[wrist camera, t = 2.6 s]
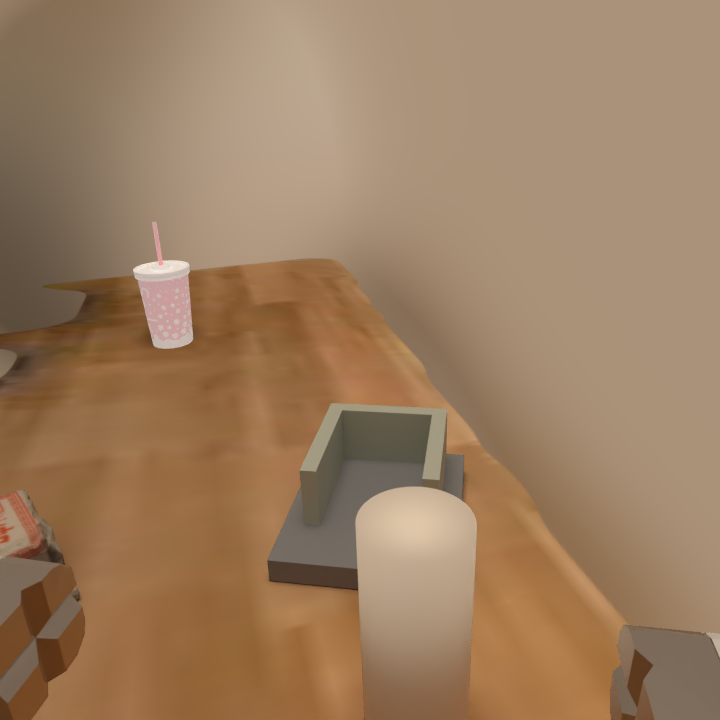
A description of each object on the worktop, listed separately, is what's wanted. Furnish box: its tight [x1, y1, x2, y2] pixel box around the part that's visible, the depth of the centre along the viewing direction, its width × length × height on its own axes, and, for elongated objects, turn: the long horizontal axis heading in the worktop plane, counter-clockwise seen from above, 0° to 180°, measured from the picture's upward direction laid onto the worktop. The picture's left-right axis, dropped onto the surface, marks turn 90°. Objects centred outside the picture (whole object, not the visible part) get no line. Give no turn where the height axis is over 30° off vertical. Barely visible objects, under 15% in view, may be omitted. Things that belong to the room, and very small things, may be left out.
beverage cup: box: [133, 222, 193, 349], centre depth 73 cm, size 6×6×14 cm
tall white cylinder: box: [355, 487, 477, 720], centre depth 26 cm, size 4×4×12 cm
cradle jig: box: [267, 403, 464, 589], centre depth 42 cm, size 11×13×6 cm
